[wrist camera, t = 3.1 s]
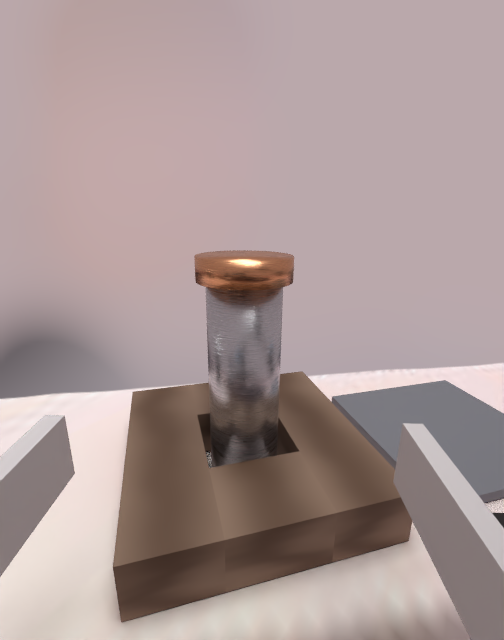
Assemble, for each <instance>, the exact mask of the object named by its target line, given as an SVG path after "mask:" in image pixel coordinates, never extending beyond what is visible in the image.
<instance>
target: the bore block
mask: <svg viewBox="0 0 504 640" xmlns="http://www.w3.org/2000/svg"><path fill="white" fill-rule="evenodd" d="M206 451H211V432H210V402H209V383H203V384H194V385H186V386H178V387H169V388H161V389H153V390H144V391H136V392H133V395H132V404H131V412H130V421H129V430H128V439H127V448H126V457H125V465H124V474H123V483H122V492H121V501H120V510H119V519H118V527H117V536H116V545H115V554H114V563H113V571H114V577H115V584H116V590H117V597H118V603H119V610H120V616H121V622H124V621H127V620H131V619H134V618H138V617H141V616H145V615H148V614H152V613H155V612H159V611H162V610H166V609H169V608H173V607H176V606H180V605H184V604H187V603H191V602H194V601H198V600H201V599H205V598H208V597H212V596H215V595H219V594H222V593H226V592H229V591H233V590H236V589H240V588H243V587H247V586H251V585H254V584H258V583H261V582H265V581H268V580H272V579H275V578H279V577H282V576H286V575H289V574H293V573H296V572H300V571H303V570H307V569H310V568H314V567H318V566H321V565H325V564H328V563H332V562H335V561H339V560H342V559H346V558H349V557H353V556H356V555H360V554H363V553H367V552H370V551H374V550H377V549H381V548H385V547H388V546H392V545H395V544H399V543H402V542H406V541H408V540H409V535H410V530H411V524H412V519H411V517H410V515H409V513H408V511H407V509H406V507H405V505H404V503H403V501H402V499H401V497H400V495H399V493H398V491H397V489H396V486H395V484H394V482H393V480H394V474H395V469H394V468H393V467H392V466H391V465H390V464H389V463H388V462H387V461H386V459H385V458H384V457H383V456H382V455H381V454H380V453H379V452H378V451H377V450H376V449H375V448H374V447H373V446H372V445H371V444H370V443H369V441H368V440H367V439H366V438H365V437H364V436H363V435H362V434H361V433H360V432H359V431H358V430H357V429H356V428H355V427H354V426H353V425H352V423H351V422H350V421H349V420H348V419H347V418H346V417H345V416H344V415H343V414H342V413H341V412H340V411H339V410H338V409H337V408H336V407H335V405H334V404H333V403H332V402H331V401H330V400H329V399H328V398H327V397H326V396H325V395H324V394H323V393H322V392H321V391H320V390H319V389H318V387H317V386H316V385H315V384H314V383H313V382H312V381H311V380H310V379H309V378H308V377H307V376H306V375H305V374H304V373H303V372H294V373H286V374H280V385H279V413H278V441H277V456H271V457H266V458H261V459H255V460H250V461H245V462H239V463H234V464H228V465H223V466H218V467H212V468H209V466H208V462H207V457H206V453H205V452H206Z"/></svg>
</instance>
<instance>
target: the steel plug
mask: <svg viewBox="0 0 504 640" xmlns="http://www.w3.org/2000/svg"><path fill="white" fill-rule="evenodd" d="M293 271H294V256H293V255H290V254H285V253H279V252H269V251H216V252H207V253H201V254H197V255H195V277H196V283H198V284H199V285H202V286H205V287H206V310H207V341H208V372H209V402H210V432H211V462H212V467H218V466H223V465H228V464H234V463H239V462H245V461H250V460H255V459H261V458H266V457H271V456H277V441H278V413H279V385H280V356H281V355H280V354H281V326H282V301H283V287H285V286H288V285H290V284H292V283H293Z"/></svg>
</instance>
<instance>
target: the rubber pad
mask: <svg viewBox="0 0 504 640" xmlns="http://www.w3.org/2000/svg"><path fill="white" fill-rule="evenodd" d="M332 403H333V404H334V405H335V407H336V408H337V409H338V410H339V411H340V412H341V413H342V414H343V415H344V416H345V417H346V418H347V419H348V420H349V421H350V422H351V423H352V425H353V426H354V427H355V428H356V429H357V430H358V431H359V432H360V433H361V434H362V435H363V436H364V437H365V438H366V439H367V440H368V441H369V443H370V444H371V445H372V446H373V447H374V448H375V449H376V450H377V451H378V452H379V453H380V454H381V455H382V456H383V457H384V458H385V459H386V461H387V462H388V463H389V464H390V465H391V466H392V467H393V468H394V469H395V468H396V462H397V456H398V450H399V443H400V437H401V431H402V425H403V423H410V424H423V425H424V426H425V427H426V428H427V430H428V431H429V432H430V434H431V435H432V436H433V437H434V439H435V440H436V441H437V443H438V444H439V445H440V446H441V448H442V449H443V450H444V452H445V453H446V454H447V456H448V457H449V458H450V459H451V461H452V462H453V463H454V465H455V466H456V467H457V468H458V470H459V471H460V472H461V474H462V475H463V476H464V477H465V479H466V480H467V481H468V483H469V484H470V485H471V487H472V488H473V489H474V490H475V492H476V493H477V494H478V496H479V497H480V498H481V499H482V501H483V502H484V503H487V502H490V501H494V500H498V499H501V498H504V414H503V413H501V412H500V411H498V410H496V409H494V408H493V407H491V406H489V405H487V404H486V403H484V402H482V401H480V400H479V399H477V398H475V397H473V396H472V395H470V394H468V393H466V392H465V391H463V390H461V389H459V388H458V387H456V386H454V385H452V384H451V383H449V382H447V381H445V380H444V381H437V382H430V383H423V384H416V385H410V386H403V387H396V388H389V389H382V390H375V391H368V392H361V393H354V394H347V395H340V396H333V397H332Z"/></svg>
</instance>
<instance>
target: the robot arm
mask: <svg viewBox="0 0 504 640" xmlns="http://www.w3.org/2000/svg"><path fill="white" fill-rule="evenodd" d="M74 474H75V472H74V466H73V461H72V455H71V449H70V444H69V438H68V432H67V427H66V421H65V415H45V416H44V417H43V418H42V419H40V420H39V421H38V422H37V423H36V424H35V425H34V426H33V427H32V428H31V429H30V430H29V431H28V432H26V433H25V434H24V435H23V436H22V437H21V438H20V439H19V440H18V441H17V442H16V443H15V444H14V445H12V446H11V447H10V448H9V449H8V450H7V451H6V452H5V453H4V454H3V455H2V456H1V457H0V576H1V575H2V574H3V572H4V571H5V569H6V568H7V567H8V565H9V564H10V562H11V561H12V560H13V558H14V557H15V556H16V554H17V553H18V551H19V550H20V549H21V547H22V546H23V544H24V543H25V542H26V540H27V539H28V537H29V536H30V535H31V533H32V532H33V531H34V529H35V528H36V526H37V525H38V524H39V522H40V521H41V519H42V518H43V517H44V515H45V514H46V513H47V511H48V510H49V508H50V507H51V506H52V504H53V503H54V501H55V500H56V499H57V497H58V496H59V494H60V493H61V492H62V490H63V489H64V488H65V486H66V485H67V483H68V482H69V481H70V479H71V478H72V476H73V475H74ZM393 482H394V484H395V486H396V489H397V491H398V493H399V495H400V497H401V499H402V501H403V503H404V505H405V507H406V509H407V511H408V513H409V515H410V517H411V519H412V521H413V523H414V525H415V527H416V529H417V531H418V533H419V535H420V537H421V539H422V541H423V543H424V545H425V547H426V549H427V551H428V553H429V555H430V557H431V559H432V561H433V563H434V565H435V567H436V569H437V571H438V573H439V576H440V578H441V580H442V582H443V584H444V586H445V588H446V590H447V592H448V594H449V596H450V598H451V600H452V602H453V604H454V606H455V608H456V610H457V612H458V614H459V616H460V618H461V620H462V622H463V624H464V626H465V628H466V630H467V632H468V634H469V636H470V638H471V640H504V513H492V512H491V511H490V510H489V509H488V507H487V506H486V505H485V503H484V502H483V501H482V499H481V498H480V497H479V496H478V494H477V493H476V492H475V490H474V489H473V488H472V487H471V485H470V484H469V483H468V481H467V480H466V479H465V477H464V476H463V475H462V474H461V472H460V471H459V470H458V468H457V467H456V466H455V465H454V463H453V462H452V461H451V459H450V458H449V457H448V456H447V454H446V453H445V452H444V450H443V449H442V448H441V446H440V445H439V444H438V443H437V441H436V440H435V439H434V437H433V436H432V435H431V434H430V432H429V431H428V430H427V428H426V427H425V426H424V425H423V424H410V423H403V425H402V431H401V437H400V443H399V450H398V456H397V462H396V468H395V474H394V480H393Z"/></svg>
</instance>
